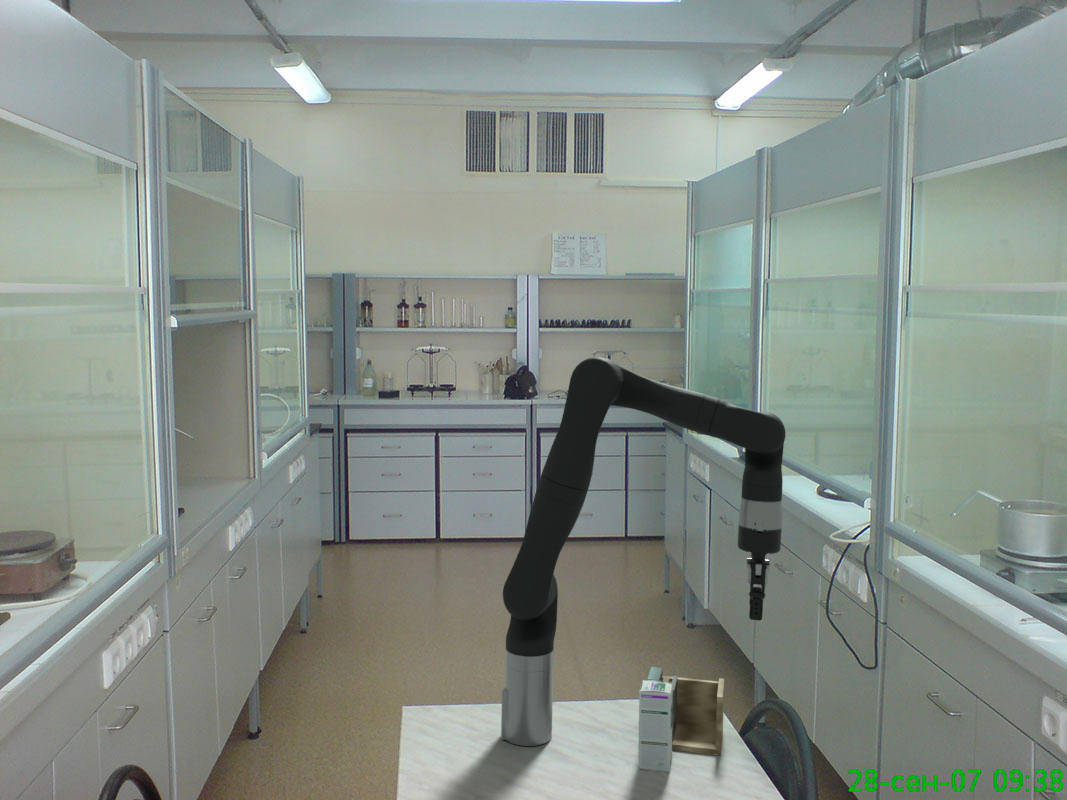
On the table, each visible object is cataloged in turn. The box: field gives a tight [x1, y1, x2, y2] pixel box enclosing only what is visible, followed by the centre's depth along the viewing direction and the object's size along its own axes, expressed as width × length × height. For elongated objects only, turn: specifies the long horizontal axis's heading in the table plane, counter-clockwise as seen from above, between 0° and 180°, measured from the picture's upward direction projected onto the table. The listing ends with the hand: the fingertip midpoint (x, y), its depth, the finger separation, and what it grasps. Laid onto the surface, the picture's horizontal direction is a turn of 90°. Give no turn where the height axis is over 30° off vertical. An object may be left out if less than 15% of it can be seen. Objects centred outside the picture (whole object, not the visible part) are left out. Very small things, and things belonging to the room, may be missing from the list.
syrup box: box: [638, 679, 673, 773], centre depth 164 cm, size 6×6×14 cm
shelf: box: [646, 666, 725, 756], centre depth 176 cm, size 14×11×12 cm
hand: (755, 612), depth 164 cm, fingers open, 8 cm apart
